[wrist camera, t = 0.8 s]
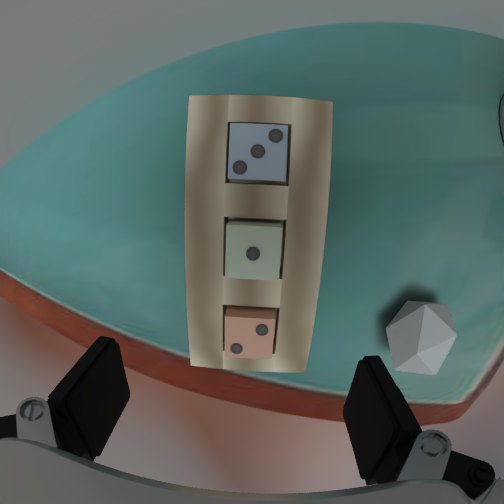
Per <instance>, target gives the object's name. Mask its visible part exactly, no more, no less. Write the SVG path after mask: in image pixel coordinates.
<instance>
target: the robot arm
mask: <svg viewBox="0 0 504 504" xmlns="http://www.w3.org/2000/svg"><path fill="white" fill-rule="evenodd" d="M500 125H501V132H502V136H503V140H504V96H503V98H502V100H501V105H500ZM48 397H49V399H48V401H45V400H44V399H42V398H39V397H30V398H27V399H25V400H23V401H22V402H20V403H19V405H18V407H17V410H16V414H15V415H9V416H4V417H0V504H504V480H503V479H501V478H500V477H499V478H498V479H497V480H496V479H495V472H494V469H493V468H492V466H491V465H489V464H488V463H486V462H484V461H481V460H478V459H475V458H472V457H469V456H466V455H463V454H461V453H458V452H455V451H452V450H451V441H450V439H449V438H448V436H447V435H445V434H444V433H443V432H440V431H438V430H426V431H422V429H421V428H420V426H419V424H418V422H417V420H416V418H415V416H414V414H413V412H412V411H411V409H410V407H409V405H408V403H407V401H406V400H405V398H404V396H403V394H402V392H401V391H400V389H399V388H398V386H396V384H395V382H394V380H393V379H392V377H391V375H390V373H389V372H388V370H387V368H386V366H385V365H384V363H383V361H382V360H381V358H380V357H379V356H378V355H377V356H365V357H364V358H363V360H360V361H359V362H358V365H357V368H356V372H355V375H354V378H353V381H352V384H351V387H350V390H349V393H348V396H347V399H346V402H345V405H344V408H343V416H344V420H345V423H346V427H347V430H348V433H349V437H350V441H351V444H352V448H353V451H354V454H355V458H356V462H357V466H358V469H359V473H360V477H361V478H362V479H365V481H366V484H367V485H370V486H364V487H358V488H351V489H343V490H334V491H325V492H312V493H293V494H258V493H238V492H225V491H216V490H207V489H200V488H193V487H187V486H181V485H176V484H171V483H166V482H161V481H156V480H152V479H148V478H144V477H140V476H136V475H133V474H129V473H125V472H122V471H119V470H116V469H113V468H110V467H107V466H104V465H101V464H98V463H95V462H93V461H94V459H95V457H96V456H100V454H101V453H102V451H103V449H104V446H105V445H106V443H107V441H108V438H109V436H110V435H111V433H112V431H113V429H114V427H115V425H116V423H117V421H118V419H119V417H120V415H121V414H122V412H123V410H124V408H125V406H126V404H127V402H128V400H129V398H130V390H129V386H128V382H127V378H126V374H125V370H124V366H123V361H122V357H121V352H120V347H119V344H118V343H117V342H116V341H115V339H113V338H109V337H104V336H100V337H99V338H98V339H97V340H96V341H95V342H94V343H93V344H92V346H91V347H90V348H89V349H88V350H87V352H86V353H85V354H84V355H83V356H82V357H81V358H80V359H79V360H78V362H77V363H76V364H75V365H74V366H73V367H72V369H71V370H70V371H69V372H68V373H67V374H66V376H65V377H64V378H63V379H62V380H61V381H60V383H59V384H58V385H57V386H56V387H55V389H54V390H53V391H52V392H51V394H50V395H49V396H48ZM84 458H85V459H84ZM89 460H90V461H89ZM377 483H378V484H377ZM373 484H375V485H373Z"/></svg>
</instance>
